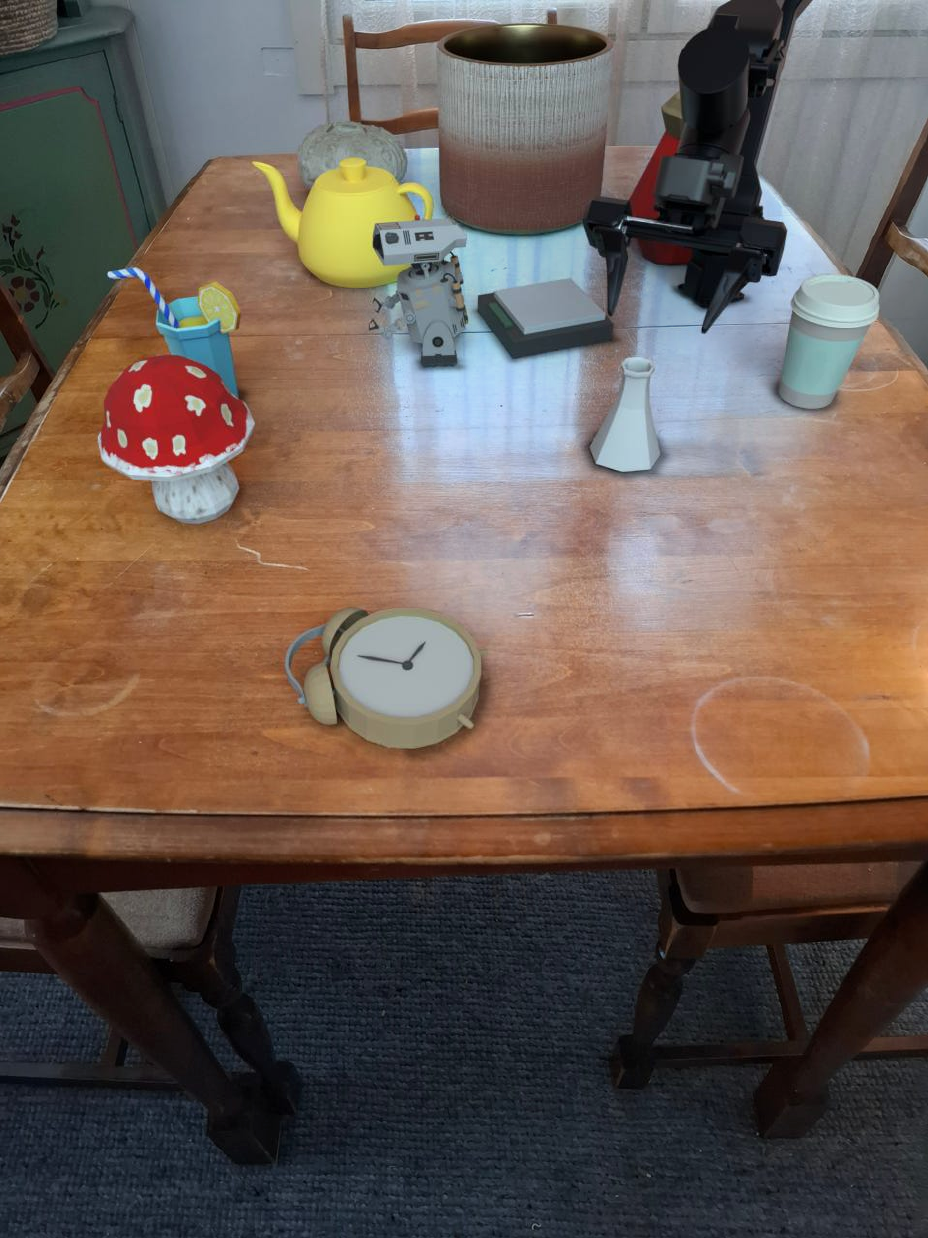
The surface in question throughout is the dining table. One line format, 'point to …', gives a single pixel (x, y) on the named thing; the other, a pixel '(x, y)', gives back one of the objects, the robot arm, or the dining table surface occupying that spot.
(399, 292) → the figurine
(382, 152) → the decorative shell
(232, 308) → the cup
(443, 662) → the alarm clock
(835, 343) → the coffee cup
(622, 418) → the grey faceted vase
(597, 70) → the planter
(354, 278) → the teapot
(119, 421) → the decorative mushroom
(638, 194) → the bottle
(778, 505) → the dining table surface
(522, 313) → the kitchen scale
